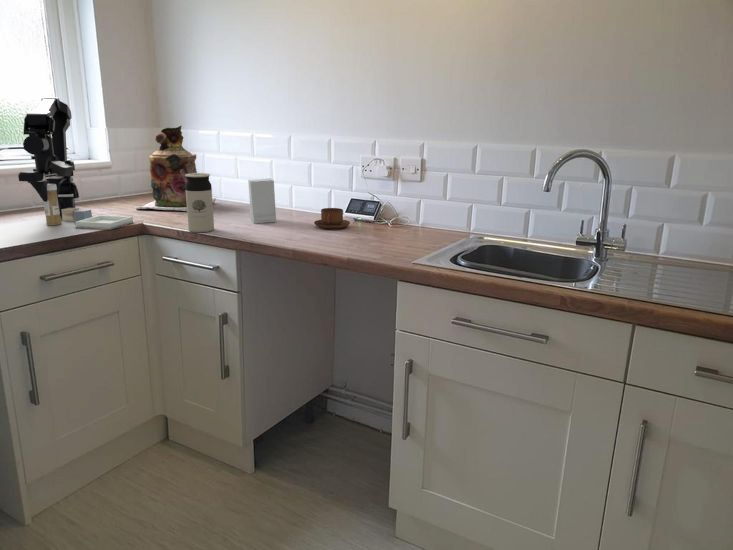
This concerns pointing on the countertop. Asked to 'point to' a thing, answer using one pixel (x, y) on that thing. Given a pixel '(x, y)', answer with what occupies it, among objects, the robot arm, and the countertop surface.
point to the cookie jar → (170, 171)
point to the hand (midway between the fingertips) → (50, 200)
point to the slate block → (82, 214)
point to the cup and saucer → (332, 219)
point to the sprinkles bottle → (52, 206)
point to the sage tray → (104, 222)
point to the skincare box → (262, 200)
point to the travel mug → (199, 202)
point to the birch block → (68, 214)
